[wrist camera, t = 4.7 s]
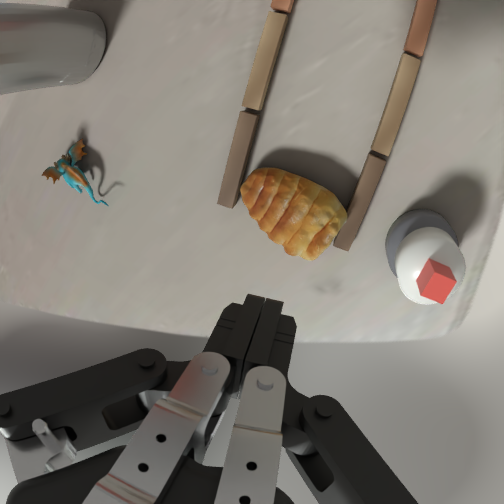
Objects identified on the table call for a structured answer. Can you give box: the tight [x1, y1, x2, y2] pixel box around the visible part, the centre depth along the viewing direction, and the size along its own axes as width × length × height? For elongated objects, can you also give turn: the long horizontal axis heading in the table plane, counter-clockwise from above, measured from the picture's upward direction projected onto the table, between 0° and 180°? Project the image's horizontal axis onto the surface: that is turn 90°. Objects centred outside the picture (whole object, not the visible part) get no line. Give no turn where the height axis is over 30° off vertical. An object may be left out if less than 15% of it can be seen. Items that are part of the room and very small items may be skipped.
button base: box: [385, 209, 458, 278], centre depth 27 cm, size 7×7×2 cm
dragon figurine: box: [41, 139, 108, 206], centre depth 33 cm, size 6×7×8 cm
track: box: [217, 0, 437, 251], centre depth 23 cm, size 13×28×1 cm, turn 165°
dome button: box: [395, 227, 466, 304], centre depth 23 cm, size 6×6×5 cm
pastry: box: [240, 168, 347, 261], centre depth 28 cm, size 9×7×4 cm
